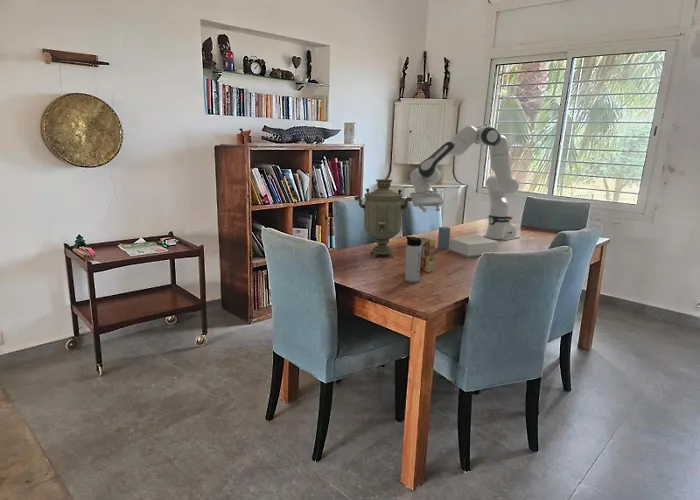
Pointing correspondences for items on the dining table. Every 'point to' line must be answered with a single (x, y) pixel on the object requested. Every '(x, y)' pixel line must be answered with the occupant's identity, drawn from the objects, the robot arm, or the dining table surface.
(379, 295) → the dining table surface
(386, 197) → the samovar
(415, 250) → the travel mug
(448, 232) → the grey tall block
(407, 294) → the dining table surface
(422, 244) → the candy box
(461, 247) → the riser
